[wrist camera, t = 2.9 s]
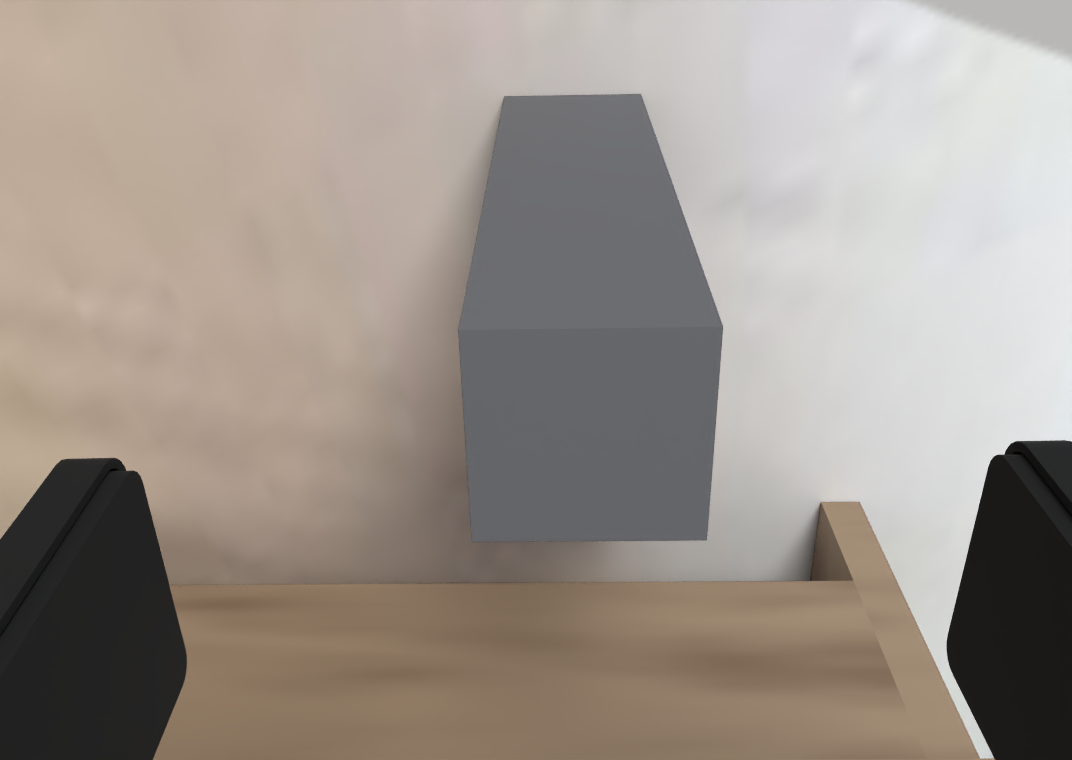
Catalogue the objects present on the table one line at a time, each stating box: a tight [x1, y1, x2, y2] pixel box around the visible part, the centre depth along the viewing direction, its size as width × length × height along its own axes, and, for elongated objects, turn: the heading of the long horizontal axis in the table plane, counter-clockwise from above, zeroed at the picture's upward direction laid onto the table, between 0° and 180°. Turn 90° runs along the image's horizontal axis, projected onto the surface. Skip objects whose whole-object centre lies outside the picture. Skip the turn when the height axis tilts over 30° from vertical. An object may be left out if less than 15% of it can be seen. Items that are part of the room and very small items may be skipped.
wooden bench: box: [153, 502, 995, 760], centre depth 28 cm, size 7×25×11 cm, turn 91°
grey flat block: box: [458, 94, 723, 542], centre depth 22 cm, size 12×4×14 cm, turn 1°
